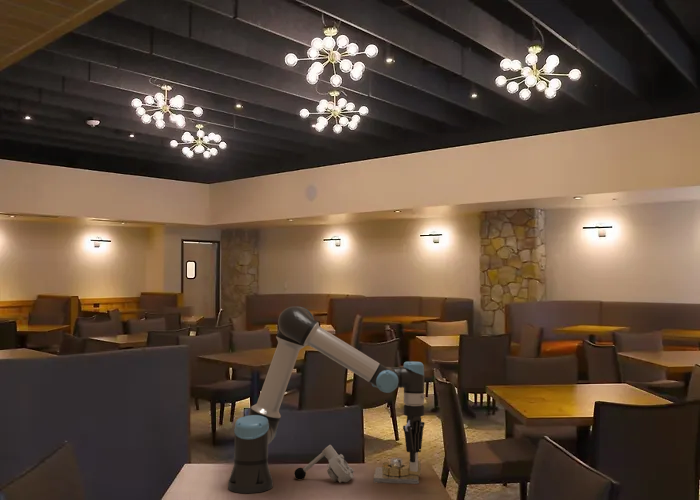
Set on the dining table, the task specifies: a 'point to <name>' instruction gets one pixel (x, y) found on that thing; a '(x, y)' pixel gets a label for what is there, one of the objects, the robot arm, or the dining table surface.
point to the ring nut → (399, 469)
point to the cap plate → (384, 478)
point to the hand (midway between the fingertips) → (413, 470)
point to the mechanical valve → (330, 466)
